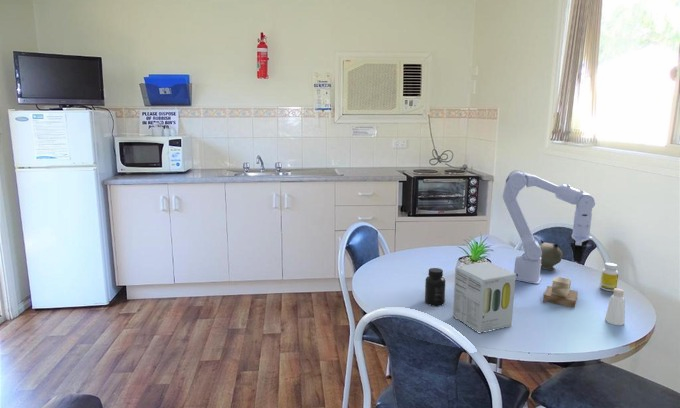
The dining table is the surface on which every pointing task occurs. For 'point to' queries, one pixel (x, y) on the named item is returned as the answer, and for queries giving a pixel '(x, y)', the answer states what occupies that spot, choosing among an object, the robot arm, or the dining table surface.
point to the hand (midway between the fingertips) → (578, 259)
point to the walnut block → (560, 298)
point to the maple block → (561, 286)
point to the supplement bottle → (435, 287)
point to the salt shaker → (616, 308)
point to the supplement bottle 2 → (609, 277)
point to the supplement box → (484, 296)
